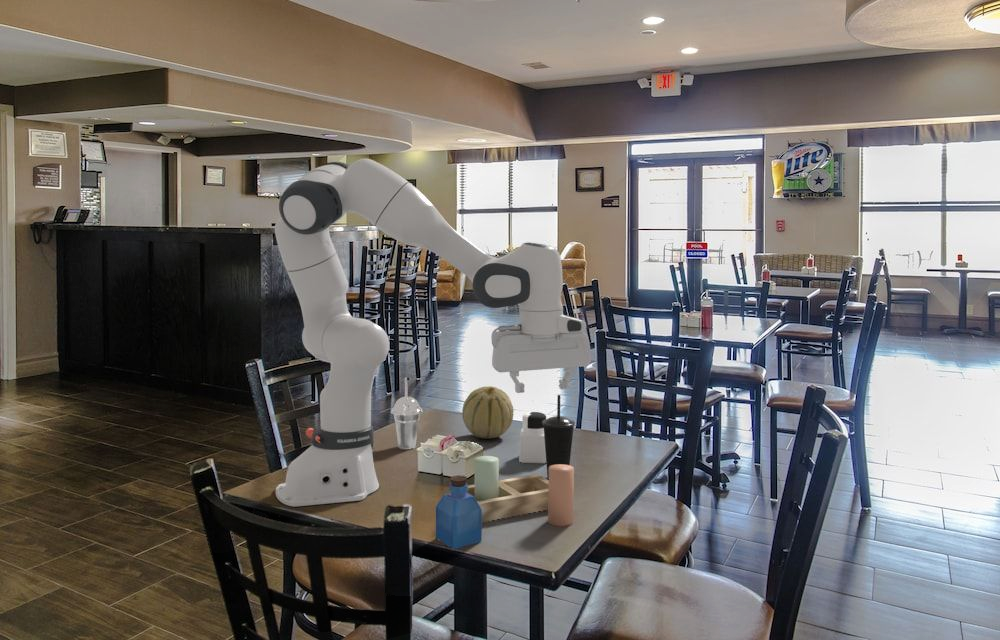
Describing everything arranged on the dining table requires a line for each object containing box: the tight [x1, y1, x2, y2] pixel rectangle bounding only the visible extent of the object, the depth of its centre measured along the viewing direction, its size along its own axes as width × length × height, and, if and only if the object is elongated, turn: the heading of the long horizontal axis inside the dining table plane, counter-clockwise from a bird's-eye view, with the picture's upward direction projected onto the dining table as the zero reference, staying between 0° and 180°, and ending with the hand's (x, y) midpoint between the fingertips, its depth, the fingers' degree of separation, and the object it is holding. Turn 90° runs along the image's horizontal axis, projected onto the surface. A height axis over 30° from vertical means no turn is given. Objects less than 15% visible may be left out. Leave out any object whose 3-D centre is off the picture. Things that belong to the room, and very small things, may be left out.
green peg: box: [474, 455, 500, 501], centre depth 156 cm, size 5×5×11 cm
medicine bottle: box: [518, 411, 547, 464], centre depth 193 cm, size 7×7×12 cm
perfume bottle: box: [435, 475, 483, 550], centre depth 141 cm, size 6×6×12 cm
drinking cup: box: [542, 394, 576, 480], centre depth 177 cm, size 8×8×20 cm
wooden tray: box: [466, 474, 549, 524], centre depth 159 cm, size 21×11×4 cm, turn 118°
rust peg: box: [547, 464, 575, 527], centre depth 150 cm, size 5×5×11 cm
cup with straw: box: [390, 376, 424, 450], centre depth 202 cm, size 8×9×20 cm
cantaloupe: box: [461, 385, 515, 440], centre depth 213 cm, size 15×15×15 cm
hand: (542, 390), depth 154 cm, fingers open, 8 cm apart
